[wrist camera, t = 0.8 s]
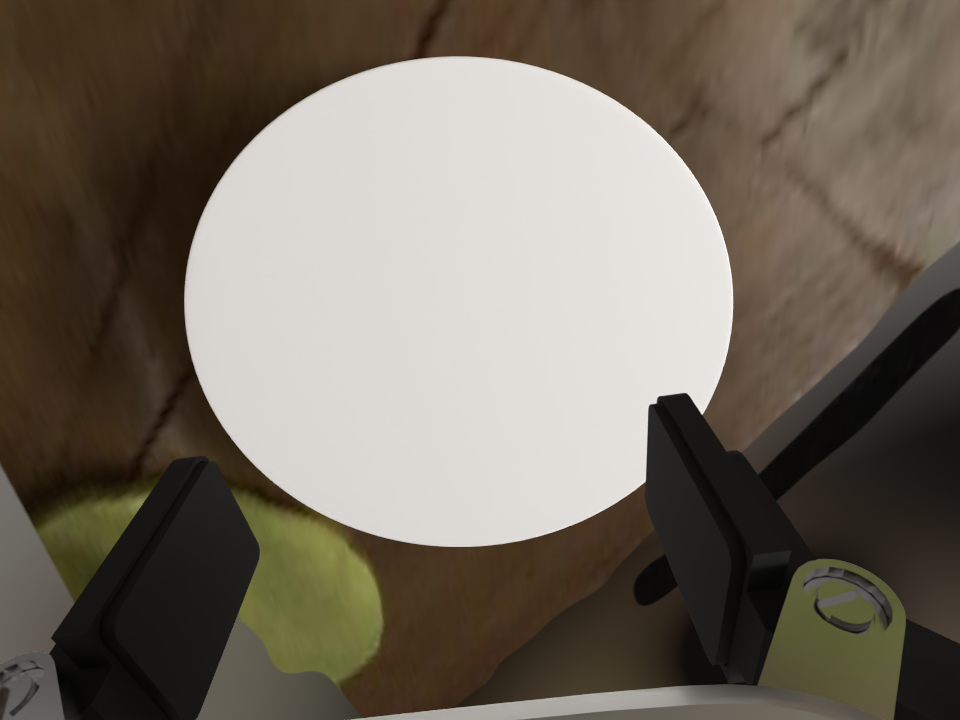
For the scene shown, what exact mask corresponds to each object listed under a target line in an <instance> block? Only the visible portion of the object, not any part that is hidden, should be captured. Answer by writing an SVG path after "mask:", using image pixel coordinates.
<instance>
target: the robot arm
mask: <svg viewBox="0 0 960 720" xmlns="http://www.w3.org/2000/svg"><path fill="white" fill-rule="evenodd" d="M645 499H646V505H647V509H648V513H649V515H650V518H651V520H652V523H653V525H654V528H655V530H656V532H657V535H658V537H659V540H660V542H661V544H662V547H663V550H664V552H665V555H666V557H667V559H668V562H669V564H670V567H671V569H672V572H673V574H674V577H675V579H676V582H677V584H678V586H679V589H680V591H681V594H682V596H683V599H684V601H685V604H686V606H687V608H688V611H689V613H690V616H691V618H692V621H693V623H694V626H695V628H696V631H697V633H698V635H699V638H700V640H701V643H702V645H703V648H704V650H705V652H706V655H707V657H708V659H709V661H710V663H711V664H712V665H721V667H722V669H723V672H724V674H725V677H726V679H727V681H728V683H737V682H746V684H747V685H730V684H726V685H700V686H678V687H666V688H654V689H643V690H631V691H620V692H608V693H597V694H587V695H576V696H568V697H558V698H548V699H538V700H529V701H519V702H510V703H500V704H490V705H481V706H471V707H462V708H452V709H443V710H434V711H425V712H415V713H406V714H397V715H388V716H379V717H370V718H361V719H352V720H960V644H959V643H957V642H955V641H952V640H950V639H948V638H946V637H944V636H942V635H939V634H937V633H935V632H933V631H931V630H929V629H927V628H925V627H922V626H920V625H918V624H916V623H914V622H912V621H910V620H907V619H905V611H904V608H903V606H902V605H901V603H900V601H899V599H898V597H897V596H896V594H895V593H894V592H893V591H892V590H891V589H890V588H889V587H888V586H887V585H886V584H885V583H884V582H883V581H881V580H880V579H879V578H877V577H876V576H874V575H873V574H872V573H870V572H868V571H866V570H864V569H862V568H860V567H858V566H856V565H854V564H850V563H847V562H843V561H839V560H831V559H819V560H817V559H816V558H815V556H814V555H813V554H812V552H811V551H810V549H809V548H808V546H807V545H806V544H805V542H804V541H803V539H802V538H801V536H800V535H799V534H798V532H797V531H796V529H795V528H794V526H793V525H792V523H791V522H790V521H789V519H788V518H787V516H786V515H785V514H784V512H783V511H782V509H781V508H780V506H779V505H778V503H777V502H776V501H775V499H774V498H773V496H772V495H771V493H770V492H769V490H768V489H767V488H766V486H765V485H764V483H763V482H762V480H761V479H760V478H759V476H758V475H757V473H756V472H755V471H754V469H753V468H752V466H751V465H750V463H749V462H748V460H747V459H746V458H745V457H744V455H743V454H742V453H741V452H739V451H737V450H736V451H728V452H726V450H725V449H724V447H723V446H722V444H721V443H720V441H719V440H718V438H717V437H716V435H715V434H714V432H713V431H712V429H711V428H710V426H709V425H708V423H707V422H706V420H705V419H704V417H703V416H702V414H701V412H700V411H699V409H698V408H697V406H696V405H695V403H694V402H693V400H692V399H691V397H690V396H689V395H688V394H687V393H680V394H672V395H664V396H659V397H658V398H657V403H656V404H650V405H649V408H648V432H647V461H646V489H645ZM259 554H260V551H259V545H258V542H257V540H256V538H255V537H254V535H253V533H252V531H251V529H250V527H249V525H248V523H247V521H246V519H245V517H244V515H243V513H242V511H241V510H240V508H239V506H238V504H237V502H236V500H235V498H234V496H233V494H232V492H231V490H230V488H229V486H228V484H227V483H226V481H225V479H224V477H223V475H222V473H221V471H220V469H219V467H218V465H217V464H216V463H215V462H212V461H211V462H210V461H209V459H208V458H206V457H205V456H197V457H190V458H182V459H176V460H174V461H173V462H172V463H171V464H170V465H169V467H168V468H167V470H166V471H165V473H164V474H163V475H162V477H161V478H160V480H159V481H158V483H157V484H156V486H155V487H154V489H153V490H152V492H151V493H150V494H149V496H148V497H147V499H146V500H145V502H144V503H143V505H142V506H141V508H140V509H139V510H138V512H137V513H136V515H135V516H134V518H133V519H132V521H131V522H130V524H129V525H128V527H127V528H126V529H125V531H124V532H123V534H122V535H121V537H120V538H119V540H118V541H117V543H116V544H115V545H114V547H113V548H112V550H111V551H110V553H109V554H108V556H107V557H106V559H105V560H104V562H103V563H102V564H101V566H100V567H99V569H98V570H97V572H96V573H95V575H94V576H93V578H92V579H91V580H90V582H89V583H88V585H87V586H86V588H85V589H84V591H83V592H82V594H81V595H80V596H79V598H78V599H77V601H76V602H75V604H74V605H73V607H72V608H71V610H70V611H69V613H68V614H67V616H66V617H65V618H64V620H63V621H62V623H61V624H60V626H59V627H58V629H57V630H56V631H55V633H54V634H53V636H52V637H51V638H52V640H53V641H54V642H55V643H56V645H55V646H54V648H53V649H52V651H51V652H50V654H47V653H44V652H29V653H25V654H22V655H19V656H16V657H14V658H12V659H10V660H8V661H6V662H4V663H3V664H0V720H196V718H197V717H198V715H199V713H200V711H201V708H202V705H203V703H204V700H205V698H206V695H207V692H208V690H209V687H210V685H211V682H212V680H213V677H214V674H215V672H216V669H217V667H218V664H219V661H220V659H221V656H222V654H223V651H224V649H225V646H226V643H227V641H228V638H229V635H230V633H231V630H232V628H233V625H234V623H235V620H236V617H237V615H238V612H239V610H240V607H241V605H242V602H243V599H244V597H245V594H246V592H247V589H248V586H249V584H250V581H251V579H252V576H253V573H254V571H255V568H256V566H257V563H258V560H259Z"/></svg>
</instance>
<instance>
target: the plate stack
mask: <svg viewBox="0 0 960 720" xmlns="http://www.w3.org/2000/svg"><path fill="white" fill-rule="evenodd" d="M184 312H185V325H186V332H187V339H188V344H189V349H190V353H191V357H192V361H193V364H194V368H195V371H196V374H197V376H198V379H199V382H200V384H201V387H202V389H203V391H204V394H205V396H206V398H207V400H208V402H209V404H210V406H211V408H212V410H213V411H214V413H215V415H216V417H217V418H218V420H219V421H220V423H221V425H222V426H223V428H224V429H225V430H226V432H227V433H228V435H229V436H230V437H231V439H232V440H233V441H234V443H235V444H236V445H237V446H238V448H239V449H240V450H241V451H242V452H243V453H244V455H245V456H246V457H247V458H248V459H249V460H250V461H251V462H252V463H253V464H254V465H255V466H256V467H257V468H258V469H259V470H260V471H261V472H262V473H263V474H264V475H266V476H267V477H268V478H269V479H270V480H271V481H273V482H274V483H275V484H276V485H278V486H279V487H280V488H281V489H283V490H284V491H286V492H287V493H288V494H290V495H291V496H293V497H294V498H296V499H297V500H299V501H300V502H302V503H303V504H305V505H307V506H308V507H310V508H312V509H314V510H315V511H317V512H319V513H321V514H323V515H325V516H327V517H329V518H331V519H333V520H336V521H338V522H340V523H342V524H345V525H347V526H350V527H353V528H355V529H358V530H361V531H364V532H367V533H370V534H374V535H377V536H381V537H384V538H388V539H393V540H397V541H403V542H408V543H415V544H422V545H432V546H447V547H472V546H487V545H496V544H504V543H510V542H516V541H521V540H525V539H530V538H534V537H538V536H541V535H545V534H548V533H551V532H554V531H557V530H560V529H563V528H566V527H568V526H571V525H573V524H576V523H578V522H581V521H583V520H585V519H587V518H589V517H591V516H593V515H595V514H597V513H599V512H601V511H603V510H605V509H606V508H608V507H610V506H611V505H613V504H615V503H616V502H618V501H620V500H621V499H623V498H624V497H626V496H627V495H628V494H630V493H631V492H633V491H634V490H635V489H637V488H638V487H639V486H641V485H642V484H643V483H644V482H646V461H647V432H648V408H649V405H650V404H656V403H657V398H658V397H659V396H664V395H672V394H680V393H687V394H688V395H689V396H690V397H691V399H692V400H693V402H694V403H695V405H696V406H697V408H698V409H699V411H700V412H701V414H703V413H704V411H705V409H706V407H707V405H708V403H709V401H710V399H711V397H712V395H713V393H714V391H715V388H716V386H717V383H718V381H719V378H720V375H721V372H722V369H723V366H724V363H725V359H726V355H727V351H728V346H729V341H730V335H731V328H732V317H733V288H732V277H731V269H730V263H729V258H728V254H727V249H726V245H725V242H724V238H723V235H722V232H721V229H720V226H719V224H718V221H717V218H716V216H715V214H714V211H713V209H712V207H711V205H710V203H709V201H708V199H707V197H706V195H705V193H704V192H703V190H702V188H701V186H700V185H699V183H698V182H697V180H696V179H695V177H694V175H693V174H692V172H691V171H690V170H689V168H688V167H687V166H686V164H685V163H684V162H683V160H682V159H681V158H680V157H679V156H678V154H677V153H676V152H675V151H674V150H673V148H672V147H671V146H670V145H669V144H668V143H667V142H666V141H665V140H664V139H663V138H662V137H661V136H660V135H659V134H658V133H657V132H656V131H655V130H653V129H652V128H651V127H650V126H649V125H648V124H647V123H645V122H644V121H643V120H642V119H641V118H639V117H638V116H637V115H635V114H634V113H633V112H631V111H630V110H628V109H627V108H626V107H624V106H623V105H621V104H620V103H618V102H616V101H615V100H613V99H612V98H610V97H608V96H606V95H605V94H603V93H601V92H599V91H597V90H595V89H593V88H591V87H589V86H587V85H585V84H583V83H581V82H579V81H576V80H574V79H572V78H569V77H566V76H564V75H561V74H558V73H555V72H552V71H549V70H546V69H542V68H539V67H536V66H531V65H527V64H523V63H518V62H513V61H507V60H501V59H493V58H483V57H467V56H452V57H433V58H424V59H415V60H409V61H403V62H398V63H393V64H389V65H384V66H381V67H377V68H374V69H370V70H367V71H364V72H361V73H358V74H355V75H352V76H350V77H347V78H345V79H342V80H340V81H338V82H335V83H333V84H331V85H329V86H327V87H325V88H323V89H321V90H319V91H317V92H315V93H313V94H312V95H310V96H308V97H306V98H305V99H303V100H302V101H300V102H298V103H297V104H295V105H294V106H292V107H291V108H289V109H288V110H287V111H285V112H284V113H282V114H281V115H280V116H278V117H277V118H276V119H275V120H274V121H272V122H271V123H270V124H269V125H267V126H266V127H265V128H264V129H263V130H262V131H261V132H260V133H259V134H258V135H257V136H255V137H254V139H253V140H252V141H251V142H250V143H249V144H248V145H247V146H246V147H245V148H244V149H243V150H242V152H241V153H240V154H239V155H238V156H237V157H236V159H235V160H234V161H233V163H232V164H231V165H230V167H229V168H228V169H227V171H226V172H225V173H224V175H223V177H222V178H221V180H220V181H219V183H218V184H217V186H216V188H215V189H214V191H213V193H212V195H211V197H210V199H209V201H208V203H207V205H206V207H205V209H204V211H203V213H202V216H201V218H200V221H199V223H198V226H197V229H196V232H195V235H194V238H193V242H192V245H191V249H190V254H189V258H188V264H187V270H186V278H185V292H184Z"/></svg>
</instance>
